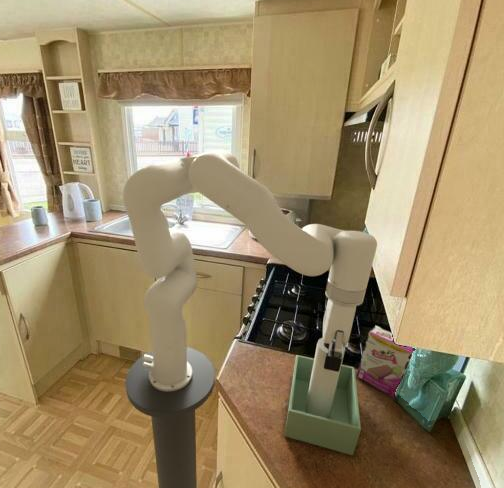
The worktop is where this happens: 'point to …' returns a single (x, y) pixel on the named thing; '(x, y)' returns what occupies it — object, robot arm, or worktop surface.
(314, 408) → the paper towel roll
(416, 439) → the worktop surface
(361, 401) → the worktop surface
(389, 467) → the worktop surface
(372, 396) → the worktop surface
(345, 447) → the bin
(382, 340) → the candy bar box
